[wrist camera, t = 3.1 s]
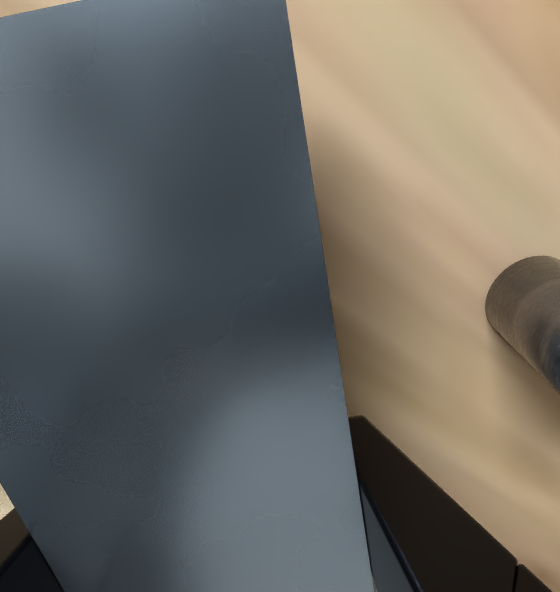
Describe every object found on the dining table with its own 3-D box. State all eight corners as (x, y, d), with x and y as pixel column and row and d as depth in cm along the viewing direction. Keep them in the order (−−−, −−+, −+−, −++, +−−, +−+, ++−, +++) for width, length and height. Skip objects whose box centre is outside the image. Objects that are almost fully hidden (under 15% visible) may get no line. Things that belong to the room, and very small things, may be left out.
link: (408, 651, 12) (447, 797, 10) (185, 685, 13) (166, 836, 10) (336, 1, 6) (392, -66, 4) (-102, 91, 6) (-347, 90, 4)
